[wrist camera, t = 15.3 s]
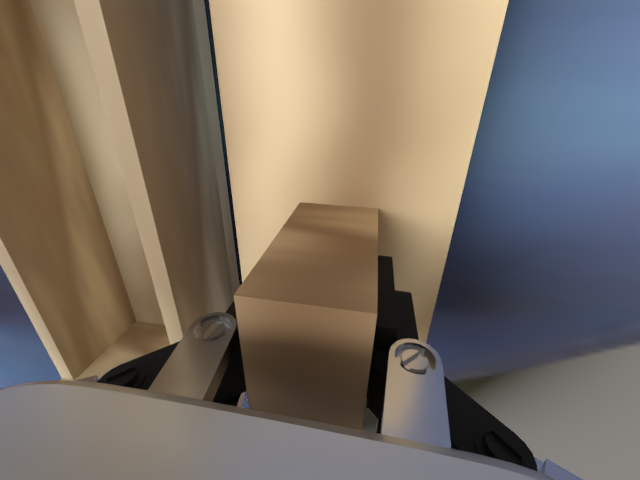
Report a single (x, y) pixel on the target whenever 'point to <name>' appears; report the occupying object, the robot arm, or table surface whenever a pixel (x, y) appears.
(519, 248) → the table surface
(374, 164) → the lid
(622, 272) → the table surface
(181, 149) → the light wooden long piece
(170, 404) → the robot arm
